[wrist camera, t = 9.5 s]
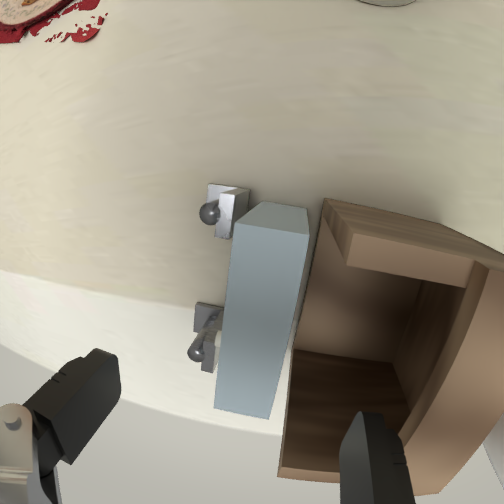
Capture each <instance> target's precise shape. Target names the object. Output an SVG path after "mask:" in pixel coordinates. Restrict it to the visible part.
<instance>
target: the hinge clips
mask: <svg viewBox="0 0 504 504" xmlns="http://www.w3.org/2000/svg"><path fill="white" fill-rule="evenodd" d="M249 195H250V189H244V188H238V187H231V186H224V185H217V184H208V192H207V200H206V204H204V205H203V206H202V207H201V209H200V212H199V215H200V218H201V220H202V221H203V222H204V223H205V224H207V225H214V224H216V229H215V237H218V238H223V239H230V238H231V237H232V236H233V233H234V225H235V222H236V221H238V220H239V219H240V218H241V217H243V216H244V215H245V214H247V208H248V202H249ZM223 316H224V308H222V307H217V306H213V305H208V304H204V303H199V302H197V304H196V305H195V317H194V331H193V332H197V333H198V335H197V337H196V338H195V340H194V341H193V343H192V344H191V346H190V348H189V349H188V352H187V354H188V356H189V358H190V359H191V360H193V361H195V362H202V364H201V370H202V371H206V372H210V373H213V372H214V369H215V367H216V365H217V363H218V361H219V352H220V347H216V346H215V338H216V335H217V332H218V331H222V325H223Z"/></svg>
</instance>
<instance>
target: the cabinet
mask: <svg viewBox="0 0 504 504" xmlns="http://www.w3.org/2000/svg"><path fill="white" fill-rule="evenodd" d="M359 411H363V412H376V413H382V415H383V417H384V421H385V426H386V429H394V430H395V432H396V433H397V435H398V436H399V437H400V439H401V440H402V444H403V448H404V452H405V453H404V455H405V456H406V460H407V466H408V469H409V474H410V479H411V483H412V488H413V493H414V496H421V495H428V494H437V493H439V492H440V491H441V490H442V489H443V488H444V487H445V486H446V485H447V484H448V483H449V482H450V480H452V479H453V477H454V476H455V475H456V474H457V473H458V472H459V471H460V470H461V468H462V467H463V466H464V465H465V464H466V462H467V461H468V460H469V459H470V458H471V456H472V455H473V454H474V453H475V451H476V450H477V449H478V448H479V446H480V445H481V444H482V442H483V441H484V440H485V438H486V437H487V436H488V434H489V433H490V432H491V430H492V429H493V427H494V426H495V424H496V423H497V422H498V420H499V419H500V417H501V416H502V414H503V413H504V254H502V253H500V252H498V251H496V250H494V249H493V248H491V247H489V246H486V245H484V244H482V243H480V242H478V241H476V240H474V239H472V238H470V237H468V236H466V235H464V234H462V233H459V232H457V231H455V230H453V229H451V228H448V227H446V226H444V225H441V224H437V223H433V222H430V221H426V220H422V219H418V218H414V217H409V216H405V215H401V214H397V213H393V212H388V211H384V210H379V209H375V208H370V207H366V206H361V205H357V204H352V203H347V202H342V201H337V200H332V199H327V198H325V199H324V204H323V210H322V215H321V220H320V226H319V231H318V236H317V241H316V246H315V251H314V256H313V260H312V265H311V270H310V274H309V279H308V284H307V288H306V293H305V297H304V301H303V306H302V310H301V314H300V318H299V323H298V327H297V331H296V335H295V339H294V343H293V347H292V351H291V360H290V370H289V381H288V391H287V400H286V409H285V418H284V427H283V435H282V444H281V451H280V459H279V467H278V474H277V477H281V478H288V479H296V480H305V481H315V482H327V483H340V466H339V452H340V447H341V443H342V441H343V439H344V437H345V435H346V433H347V431H348V429H349V428H350V426H351V424H352V422H353V420H354V418H355V416H356V414H357V413H358V412H359Z"/></svg>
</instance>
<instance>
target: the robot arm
mask: <svg viewBox="0 0 504 504" xmlns="http://www.w3.org/2000/svg"><path fill="white" fill-rule="evenodd" d="M360 1H363V2H367V3H370V4H375V5H381V6H400V5H406V4H409V3H411V2H414V1H415V0H360ZM120 395H121V382H120V374H119V365H118V358H117V356H116V355H114V354H111V353H109V352H106V351H103V350H101V349H98V348H95V349H93V350H92V351H91V352H90V353H89V354H88V355H87V356H86V357H85V358H83V357H78V358H76V359H74V360H72V361H69V362H67V363H66V364H65V365H64V366H63V367H62V368H61V369H60V370H59V372H58V373H56V374H55V375H54V376H52V378H51V380H50V379H49V380H48V381H47V382H46V383H45V384H44V385H43V386H42V387H41V388H40V389H39V390H38V391H37V392H36V393H35V394H33V396H32V397H30V398H29V399H28V401H26V402H25V403H24V404H23V405H20V404H6V405H3V406H1V407H0V504H62V499H61V493H60V487H59V481H58V472H57V467H56V464H57V463H58V461H59V460H60V459H61V460H63V461H65V462H66V463H68V464H70V465H72V463H73V462H74V461H75V459H76V458H77V457H78V455H79V454H80V452H81V451H82V450H83V448H84V447H85V446H86V444H87V443H88V442H89V440H90V439H91V438H92V436H93V435H94V433H95V432H96V431H97V429H98V428H99V427H100V425H101V424H102V422H103V421H104V420H105V419H106V417H107V416H108V414H109V413H110V412H111V410H112V409H113V408H114V407H115V405H116V404H117V402H118V400H119V398H120ZM404 453H405V452H404V448H403V444H402V440H401V439H400V437H399V436H398V435H397V433H396V432H395V430H394V429H386V426H385V421H384V417H383V415H382V413H376V412H363V411H359V412H358V413H357V414H356V416H355V418H354V420H353V422H352V424H351V426H350V428H349V429H348V431H347V433H346V435H345V437H344V439H343V441H342V443H341V447H340V452H339V466H340V499H341V500H340V504H416V503H415V499H414V493H413V488H412V483H411V479H410V474H409V469H408V466H407V460H406V456H405V455H404Z"/></svg>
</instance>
